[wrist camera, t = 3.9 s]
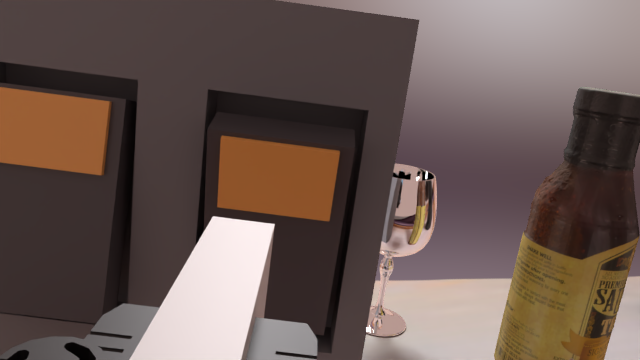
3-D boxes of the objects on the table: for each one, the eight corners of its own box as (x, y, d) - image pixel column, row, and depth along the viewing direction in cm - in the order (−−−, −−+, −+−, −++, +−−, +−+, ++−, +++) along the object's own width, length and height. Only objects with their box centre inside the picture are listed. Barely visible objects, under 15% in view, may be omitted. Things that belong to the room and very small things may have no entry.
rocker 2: (325, 308, 29) (354, 129, 25) (323, 339, 27) (355, 151, 23) (209, 294, 29) (217, 111, 25) (198, 324, 27) (205, 131, 23)
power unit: (340, 369, 37) (396, 21, 31) (344, 459, 29) (419, 20, 24) (32, 331, 37) (32, -29, 31) (-46, 413, 29) (-66, -47, 23)
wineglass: (347, 340, 41) (373, 179, 38) (334, 301, 46) (355, 158, 43) (424, 342, 42) (455, 186, 39) (402, 304, 47) (428, 164, 44)
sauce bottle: (582, 442, 33) (682, 104, 28) (476, 397, 36) (550, 83, 31) (592, 389, 39) (678, 98, 34) (500, 353, 42) (566, 81, 36)
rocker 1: (116, 311, 27) (139, 102, 27) (98, 326, 25) (123, 98, 24) (-10, 295, 27) (11, 85, 27) (-40, 309, 25) (-18, 80, 24)
